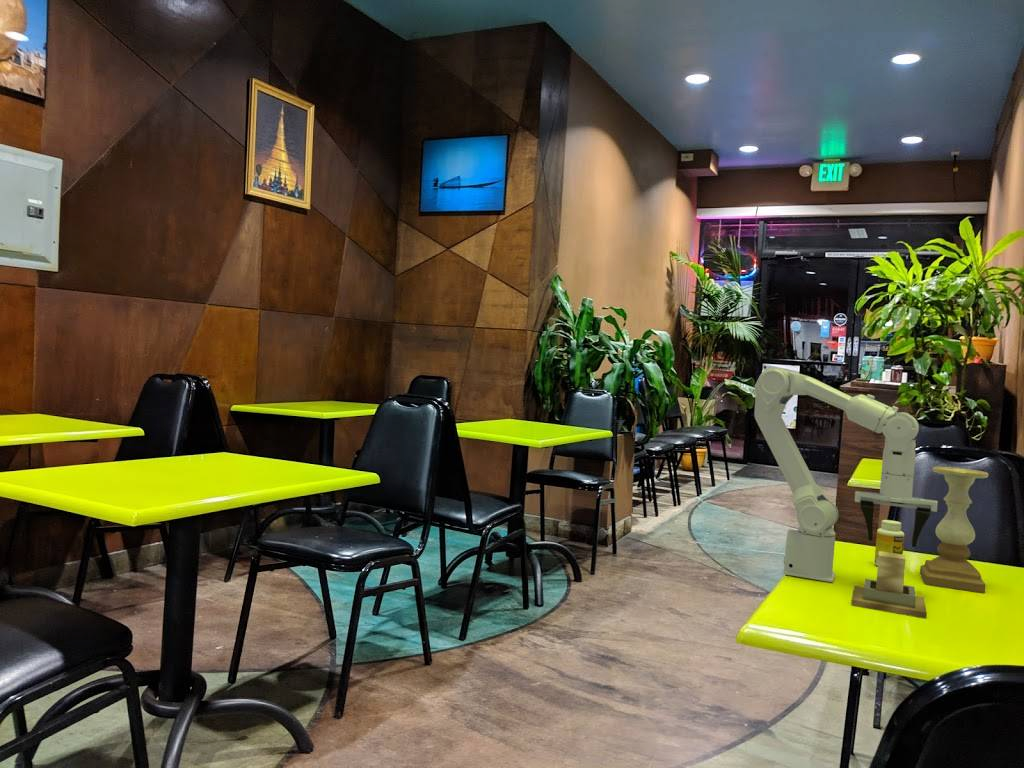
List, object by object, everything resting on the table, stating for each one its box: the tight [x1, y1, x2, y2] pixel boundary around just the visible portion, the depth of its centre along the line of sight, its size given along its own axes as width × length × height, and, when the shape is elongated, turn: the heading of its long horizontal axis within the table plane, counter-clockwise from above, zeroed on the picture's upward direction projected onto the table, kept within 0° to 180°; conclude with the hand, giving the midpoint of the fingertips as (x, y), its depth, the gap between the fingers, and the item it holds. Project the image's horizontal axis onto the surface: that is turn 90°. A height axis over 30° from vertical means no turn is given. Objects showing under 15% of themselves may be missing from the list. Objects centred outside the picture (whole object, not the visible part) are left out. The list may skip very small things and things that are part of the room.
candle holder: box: [919, 466, 989, 594], centre depth 165 cm, size 11×11×24 cm
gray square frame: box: [863, 578, 917, 608], centre depth 145 cm, size 8×8×2 cm
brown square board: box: [851, 585, 928, 619], centre depth 145 cm, size 12×12×1 cm
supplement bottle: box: [874, 519, 905, 567], centre depth 177 cm, size 6×6×10 cm
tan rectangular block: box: [876, 551, 907, 594], centre depth 145 cm, size 4×4×8 cm
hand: (891, 542), depth 155 cm, fingers open, 7 cm apart
